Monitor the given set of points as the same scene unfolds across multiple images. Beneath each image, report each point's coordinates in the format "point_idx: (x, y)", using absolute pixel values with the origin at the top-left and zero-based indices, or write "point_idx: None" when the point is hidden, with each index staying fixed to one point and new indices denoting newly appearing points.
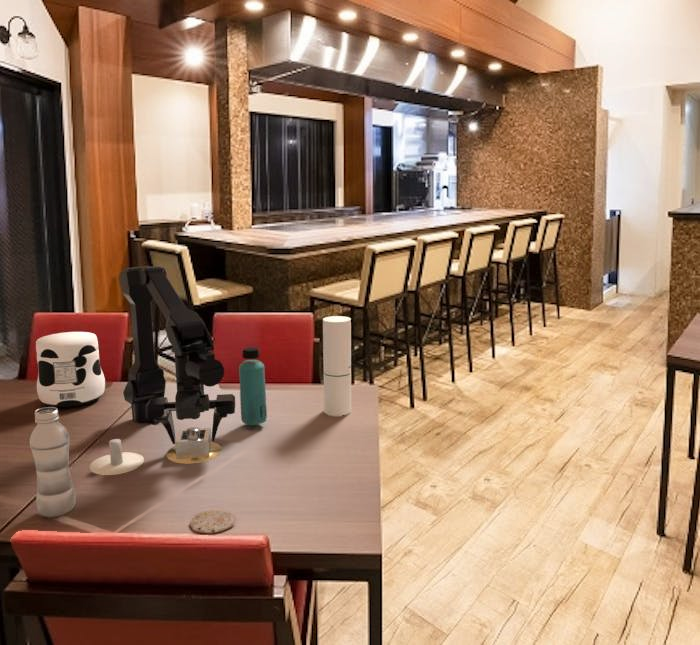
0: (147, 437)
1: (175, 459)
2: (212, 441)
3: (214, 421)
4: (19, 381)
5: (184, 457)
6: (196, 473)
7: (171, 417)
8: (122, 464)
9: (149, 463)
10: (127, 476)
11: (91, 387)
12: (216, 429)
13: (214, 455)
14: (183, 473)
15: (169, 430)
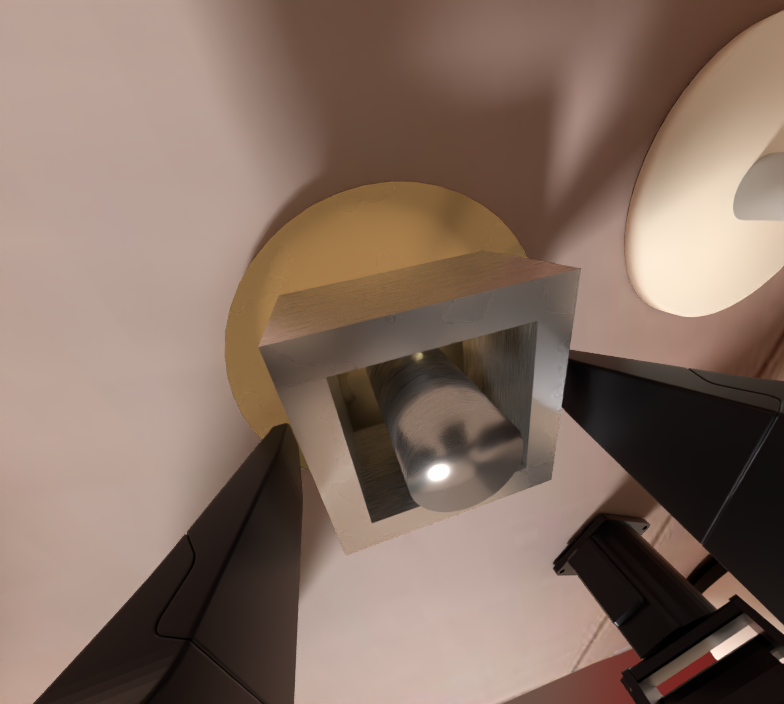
0: (598, 463)
1: (488, 246)
2: (284, 423)
3: (142, 674)
4: None
5: (440, 262)
6: (292, 43)
7: (768, 543)
8: (741, 168)
9: (601, 234)
10: (717, 36)
11: None
12: (197, 525)
13: (251, 325)
14: (397, 54)
15: (688, 379)
